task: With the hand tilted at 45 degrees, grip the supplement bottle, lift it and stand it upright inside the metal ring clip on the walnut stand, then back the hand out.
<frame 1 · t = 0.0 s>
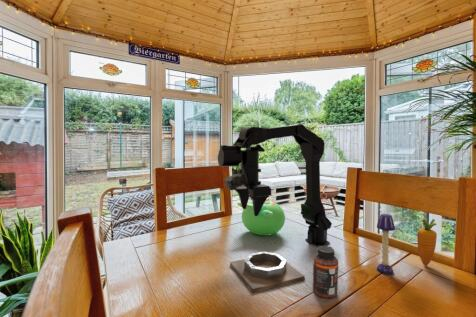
hand: (249, 212, 87), 15 cm above the table, tool pointing down, fingers open, 9 cm apart
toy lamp: (384, 270, 78), on the table
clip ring: (265, 264, 77), on the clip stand, point 2 cm above the table
supplement bottle: (325, 293, 67), on the table
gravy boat: (262, 234, 108), on the table
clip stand: (265, 271, 77), on the table
carrot: (425, 266, 81), on the table
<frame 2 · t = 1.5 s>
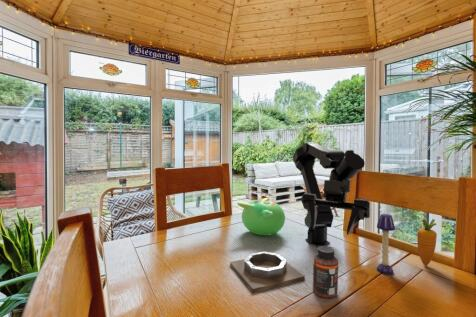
hand: (329, 231, 73), 13 cm above the table, tool tilted 45°, fingers open, 9 cm apart
nothing on the table moved.
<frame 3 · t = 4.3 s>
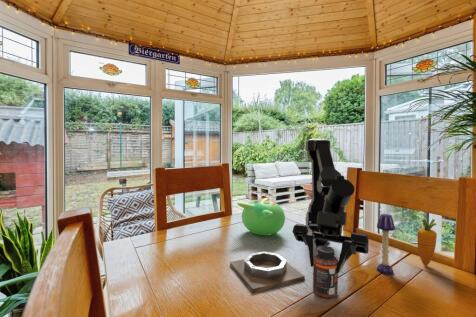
hand: (324, 269, 65), 7 cm above the table, tool tilted 45°, fingers closed on supplement bottle, 6 cm apart
supplement bottle: (325, 293, 67), on the table, touching gripper
everything else where it was.
when the fingers open (9 cm above the table, at t = 8.3 s): supplement bottle drops 1 cm, resting on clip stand.
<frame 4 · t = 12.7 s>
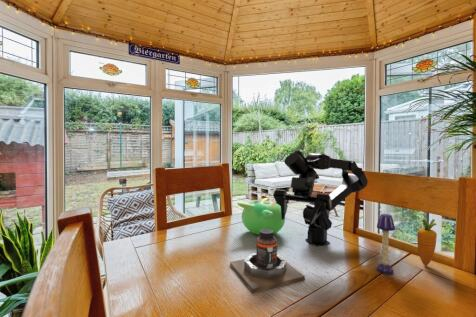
hand: (296, 221, 84), 13 cm above the table, tool tilted 45°, fingers open, 9 cm apart
supplement bottle: (266, 269, 77), point 1 cm above the table, touching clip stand
everything else where it was.
at the end: supplement bottle 0.4 cm off-centre on the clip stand, point 0.8 cm above the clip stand's base; supplement bottle tilted 0°; the gripper is holding nothing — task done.
